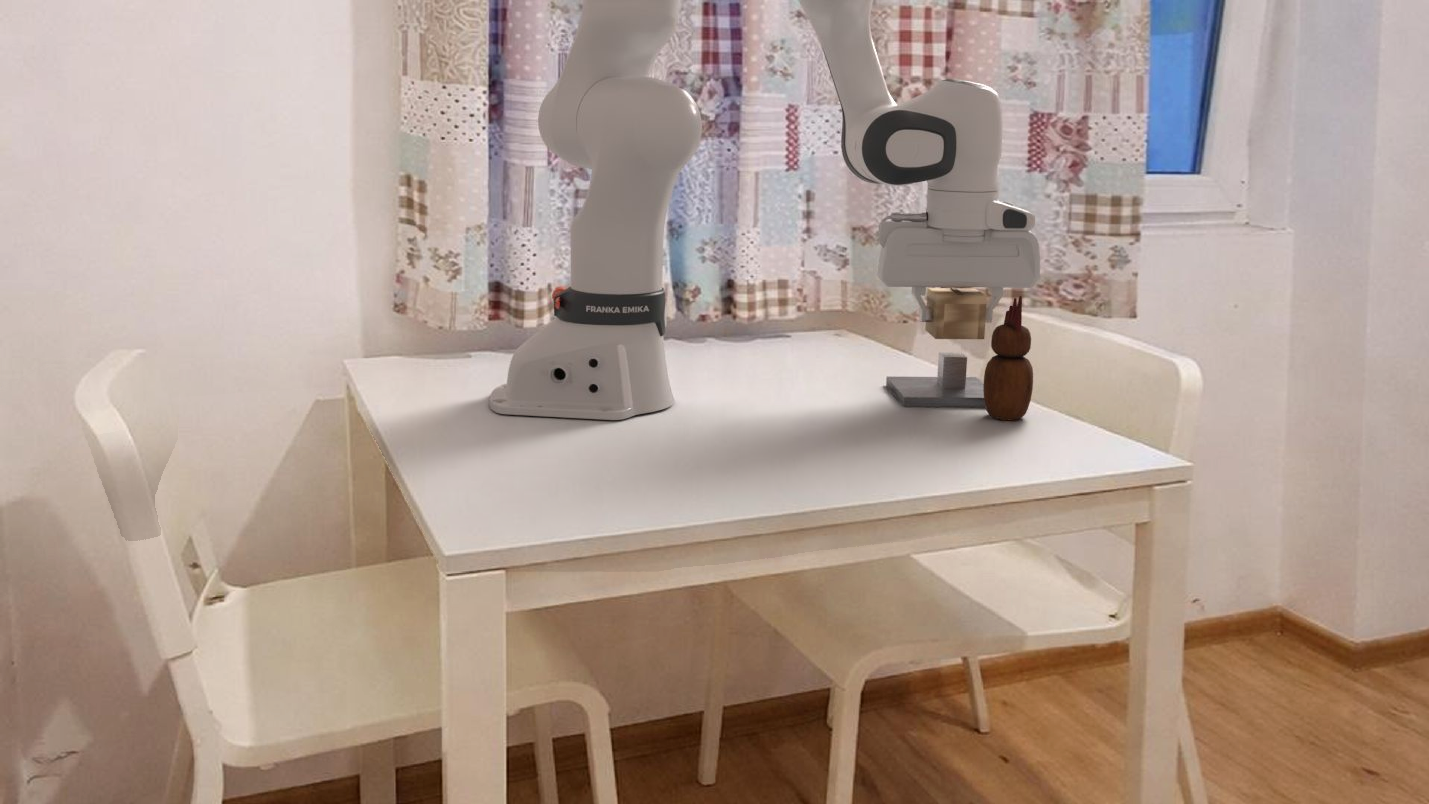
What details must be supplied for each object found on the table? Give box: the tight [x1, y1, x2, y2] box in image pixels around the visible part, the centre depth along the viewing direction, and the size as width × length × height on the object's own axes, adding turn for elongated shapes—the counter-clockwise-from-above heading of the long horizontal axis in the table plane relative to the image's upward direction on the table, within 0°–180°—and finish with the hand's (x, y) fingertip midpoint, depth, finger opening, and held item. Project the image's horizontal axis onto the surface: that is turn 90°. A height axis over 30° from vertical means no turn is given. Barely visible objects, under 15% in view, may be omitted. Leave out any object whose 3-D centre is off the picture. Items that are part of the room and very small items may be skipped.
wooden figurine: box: [983, 295, 1034, 421], centre depth 157 cm, size 7×6×15 cm
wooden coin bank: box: [925, 287, 988, 340], centre depth 168 cm, size 6×6×6 cm
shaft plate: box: [885, 351, 986, 408], centre depth 169 cm, size 12×12×5 cm
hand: (955, 321), depth 168 cm, fingers closed on wooden coin bank, 6 cm apart
